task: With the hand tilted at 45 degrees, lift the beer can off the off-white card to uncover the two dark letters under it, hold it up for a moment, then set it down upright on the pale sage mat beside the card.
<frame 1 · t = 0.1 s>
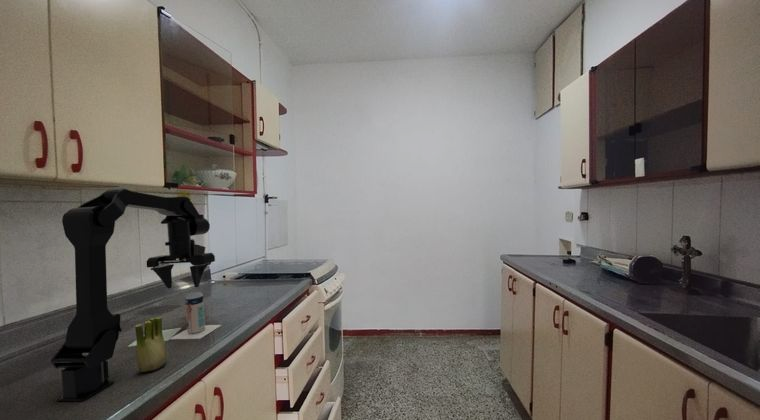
hand: (183, 287, 91), 15 cm above the counter, tool pointing down, fingers open, 9 cm apart
sage mat: (156, 337, 91), on the counter
fennel bulb: (152, 369, 71), on the counter
code card: (196, 332, 93), on the counter
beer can: (196, 332, 93), resting on code card
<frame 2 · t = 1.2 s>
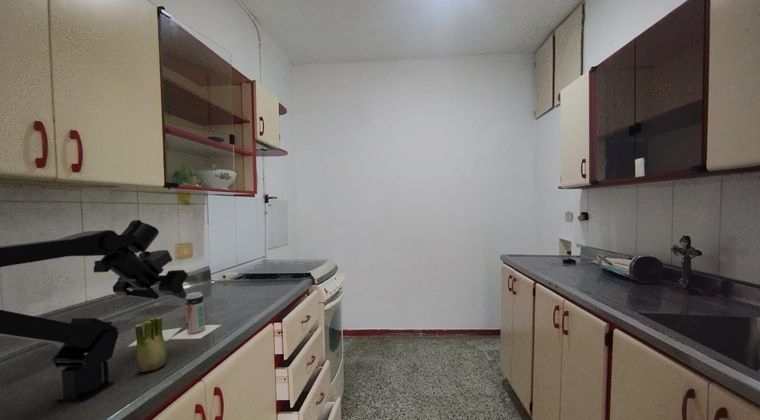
hand: (171, 297, 85), 13 cm above the counter, tool tilted 45°, fingers open, 9 cm apart
nothing on the counter moved.
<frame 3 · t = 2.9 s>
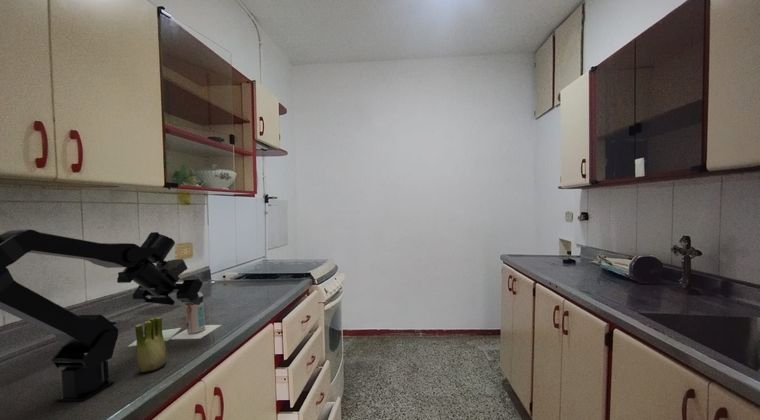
hand: (186, 303, 90), 10 cm above the counter, tool tilted 45°, fingers open, 9 cm apart
nothing on the counter moved.
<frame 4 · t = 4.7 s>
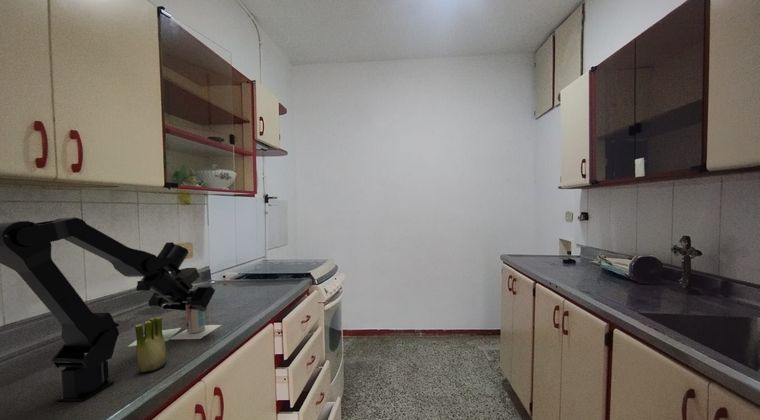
hand: (198, 309, 94), 7 cm above the counter, tool tilted 45°, fingers closed on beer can, 5 cm apart
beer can: (196, 332, 93), resting on code card, touching gripper
everything else where it was.
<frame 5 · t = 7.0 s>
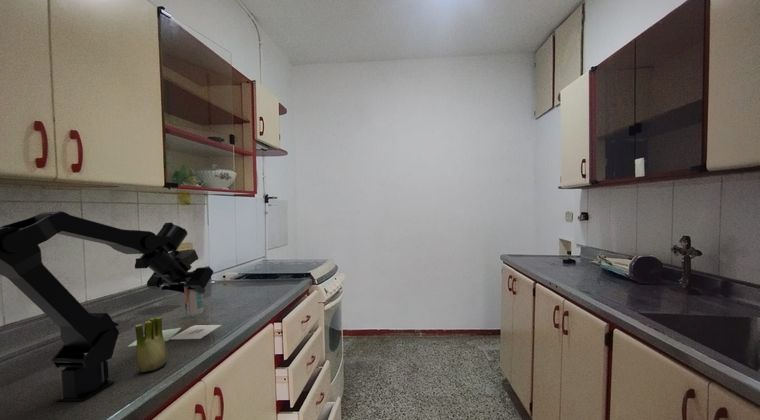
hand: (197, 292, 94), 12 cm above the counter, tool tilted 45°, fingers closed on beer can, 5 cm apart
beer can: (194, 314, 92), point 6 cm above the counter, touching gripper
everything else where it was.
when the fingers open (8 cm above the counter, at t = 9.6 s): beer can drops 1 cm, resting on sage mat.
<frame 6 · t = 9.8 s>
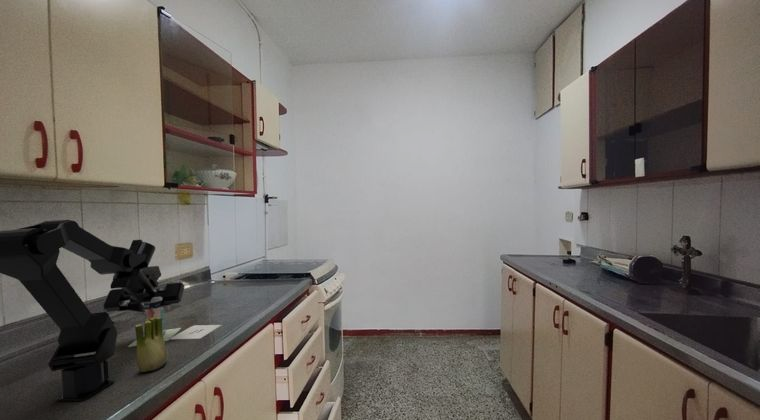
hand: (157, 309, 92), 8 cm above the counter, tool tilted 45°, fingers open, 7 cm apart
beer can: (156, 337, 91), resting on sage mat
everything else where it was.
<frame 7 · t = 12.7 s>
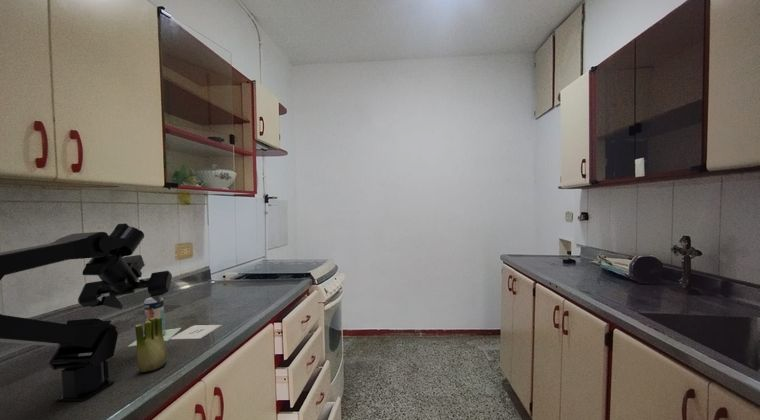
hand: (141, 304, 83), 13 cm above the counter, tool tilted 45°, fingers open, 9 cm apart
nothing on the counter moved.
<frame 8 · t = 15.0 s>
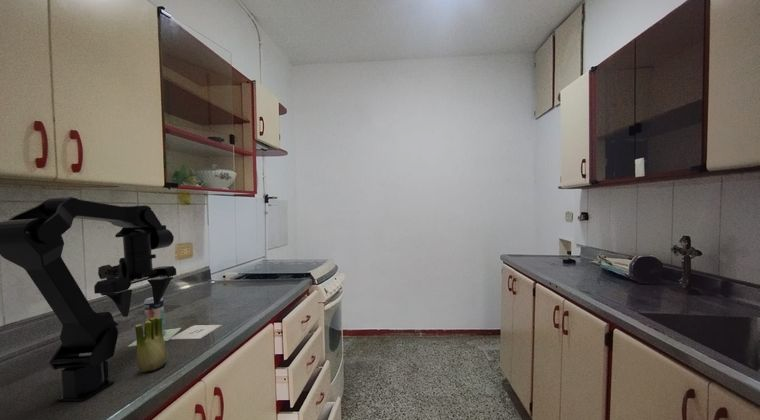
hand: (142, 310, 79), 12 cm above the counter, tool pointing down, fingers open, 9 cm apart
nothing on the counter moved.
at the end: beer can inside the target area on the sage mat (0.2 cm from its centre), point 0.0 cm above the sage mat's base; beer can tilted 0°; the gripper is holding nothing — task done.
